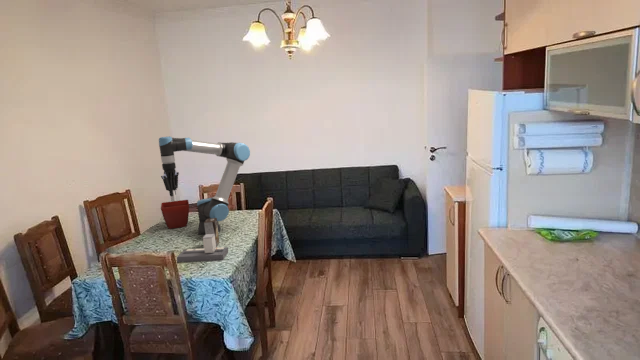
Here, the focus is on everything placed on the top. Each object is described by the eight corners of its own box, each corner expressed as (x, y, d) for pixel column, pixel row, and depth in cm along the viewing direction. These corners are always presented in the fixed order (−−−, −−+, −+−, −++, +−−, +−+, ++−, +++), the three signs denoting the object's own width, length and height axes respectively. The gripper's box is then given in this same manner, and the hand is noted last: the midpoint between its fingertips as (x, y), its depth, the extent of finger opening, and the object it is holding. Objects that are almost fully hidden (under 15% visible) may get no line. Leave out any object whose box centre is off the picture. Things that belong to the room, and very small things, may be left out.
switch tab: (204, 253, 239) (202, 237, 237) (207, 249, 245) (205, 234, 243) (213, 252, 238) (211, 237, 237) (216, 248, 244) (214, 233, 243)
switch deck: (177, 262, 237) (176, 256, 237) (184, 254, 249) (184, 249, 248) (223, 259, 236) (222, 254, 235) (228, 252, 248) (227, 246, 247)
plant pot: (191, 220, 323) (188, 199, 320) (191, 227, 305) (188, 204, 302) (164, 224, 317) (161, 202, 314) (163, 231, 299) (160, 208, 296)
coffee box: (217, 246, 258) (214, 221, 255) (206, 247, 258) (203, 222, 254) (219, 242, 267) (216, 217, 264) (209, 243, 267) (206, 218, 263)
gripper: (171, 160, 261) (176, 198, 265) (155, 164, 249) (161, 203, 253) (180, 160, 258) (185, 198, 262) (165, 164, 246) (171, 203, 251)
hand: (173, 200), depth 258 cm, fingers closed
